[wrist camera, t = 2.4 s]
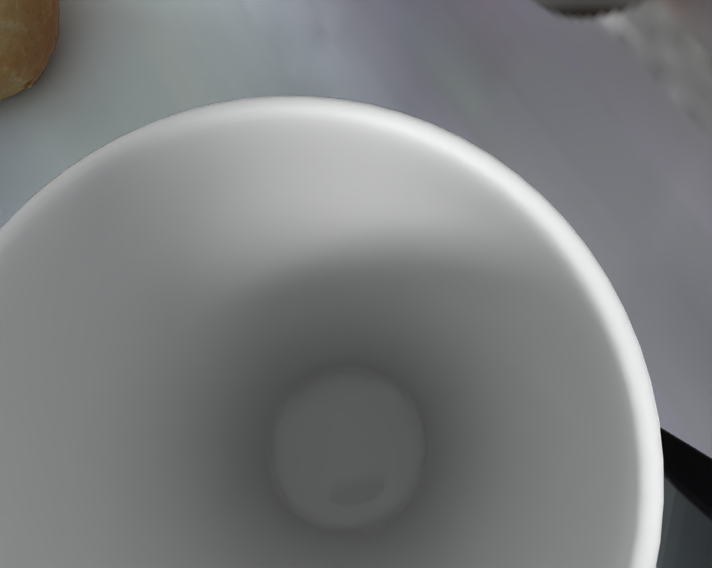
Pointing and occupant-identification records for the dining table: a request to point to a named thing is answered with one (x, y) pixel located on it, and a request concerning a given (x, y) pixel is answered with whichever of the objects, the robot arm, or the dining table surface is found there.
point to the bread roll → (25, 42)
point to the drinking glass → (315, 357)
